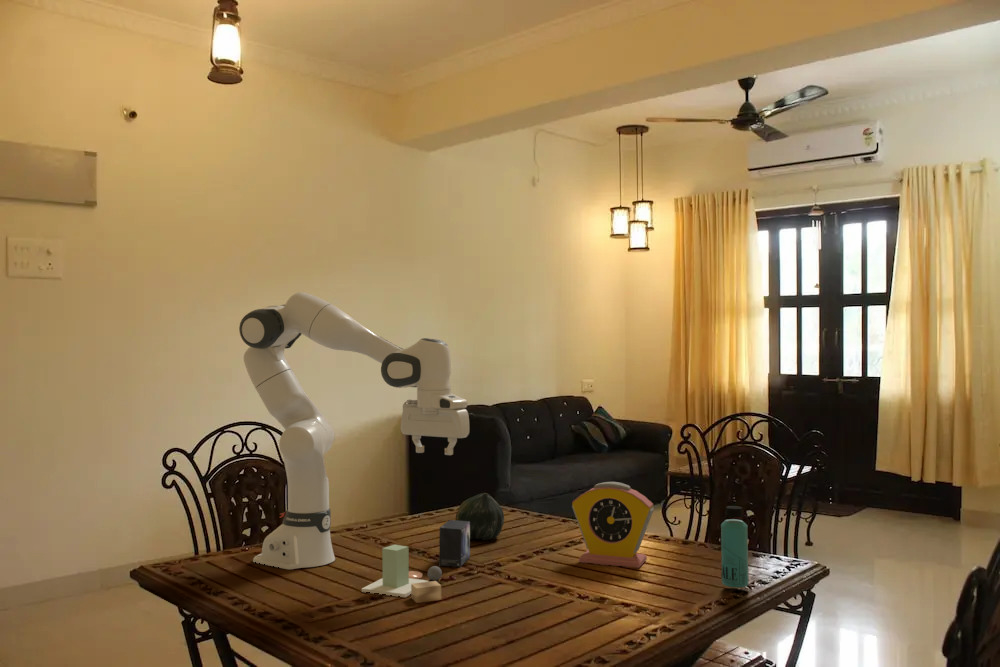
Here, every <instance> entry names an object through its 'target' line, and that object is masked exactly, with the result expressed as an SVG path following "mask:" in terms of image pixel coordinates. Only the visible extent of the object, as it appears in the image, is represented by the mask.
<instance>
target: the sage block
mask: <svg viewBox="0 0 1000 667" xmlns="http://www.w3.org/2000/svg"><path fill="white" fill-rule="evenodd" d="M409 550H410V548H409V546H406V545H399V544H392V545H389V546H386V547H382V551H381V552H382V554H381V556H382V559H381V560H382V562H381V564H382V566H381V567H382V578H383V586H388V587H393V588H399V587H401V586H404V585H406V584H409V571H410V568H409V562H410V561H409V559H410V558H409Z"/></svg>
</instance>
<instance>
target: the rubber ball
mask: <svg viewBox="0 0 1000 667" xmlns="http://www.w3.org/2000/svg"><path fill="white" fill-rule="evenodd" d="M442 571H443V570H442V569H441V568H440V566H437V565H433V566H431V567H430V568H428V570H427V577H428V579H429V581H436V582H438V581H439V580H440V579H441V577H443V576H442V575H443V572H442Z"/></svg>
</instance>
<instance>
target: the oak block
mask: <svg viewBox="0 0 1000 667" xmlns="http://www.w3.org/2000/svg"><path fill="white" fill-rule="evenodd" d="M410 596H411V597H410V598H411V599H412V600H413V601H414V603H416V604H418V603H420V604H421V603H426V602H427V603H428V602H433V601H440V600H442V585H441V584H440V583H439V582H438V581H432V580H429V582H422V583H414V584H411V595H410Z"/></svg>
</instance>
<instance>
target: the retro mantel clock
mask: <svg viewBox="0 0 1000 667" xmlns="http://www.w3.org/2000/svg"><path fill="white" fill-rule="evenodd" d="M571 503H572V505H571V508H572V510H573V513H574V516H575V519H576V522H577V525H578V527H579V531H580V532H581V536H582V539H583V542H584V544H585V546H586V549H587V550H586V551H585V552H584V553H583V554H582V555H580V556H579V557H578V562H579V563H580V562H581V563H580V564H587V563H594V564H593V565H598V564H603V565H602V566H608V565H611V567H619V566H623V567H622V568H629V567H635V568H634V569H639V568H640V567H641V566H643V564H644V563H645V562H646V561H647V559H648V558H647V557H648V556H647V554H646V553H638V551H639V550H640V548H641V545H642V542H643V539H644V537H645V534H646V531H647V528H648V527H649V526H648V525H649V523H650V520H651V519H652V518H651V517H652V516H653V515H652V514H653V512H654V509H655V508H654V503H653V502H652V501H651V500H649V499H648V497H646V496H645V495H644V494H642V493H640V492H639V491H638V490H636V489H633V488H631V486H630V485H629V484H625V483H623V482H618V481H604V482H599V483H597V484H594V486H593V487H592V488H590V489H589V490H587V491H585V492H584V493H582V494H580V495H579V496H577V497H576V498H575V499H573V501H572V502H571ZM636 567H637V568H636Z"/></svg>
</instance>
